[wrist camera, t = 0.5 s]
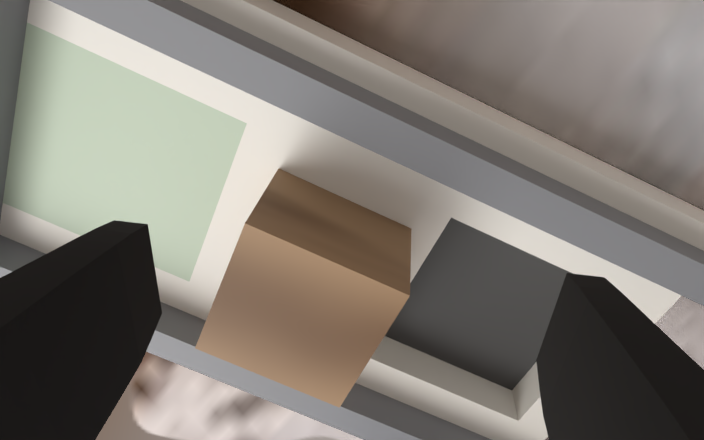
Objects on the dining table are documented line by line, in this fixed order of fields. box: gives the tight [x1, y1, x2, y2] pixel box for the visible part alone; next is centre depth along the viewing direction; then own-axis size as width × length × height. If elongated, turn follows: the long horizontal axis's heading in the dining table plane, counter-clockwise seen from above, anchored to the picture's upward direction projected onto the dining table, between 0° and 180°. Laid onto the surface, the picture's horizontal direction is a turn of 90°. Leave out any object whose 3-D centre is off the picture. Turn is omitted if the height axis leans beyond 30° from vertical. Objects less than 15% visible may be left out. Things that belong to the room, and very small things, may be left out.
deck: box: [0, 0, 704, 440], centre depth 19 cm, size 14×24×4 cm, turn 66°
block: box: [195, 168, 411, 408], centre depth 18 cm, size 5×5×4 cm
